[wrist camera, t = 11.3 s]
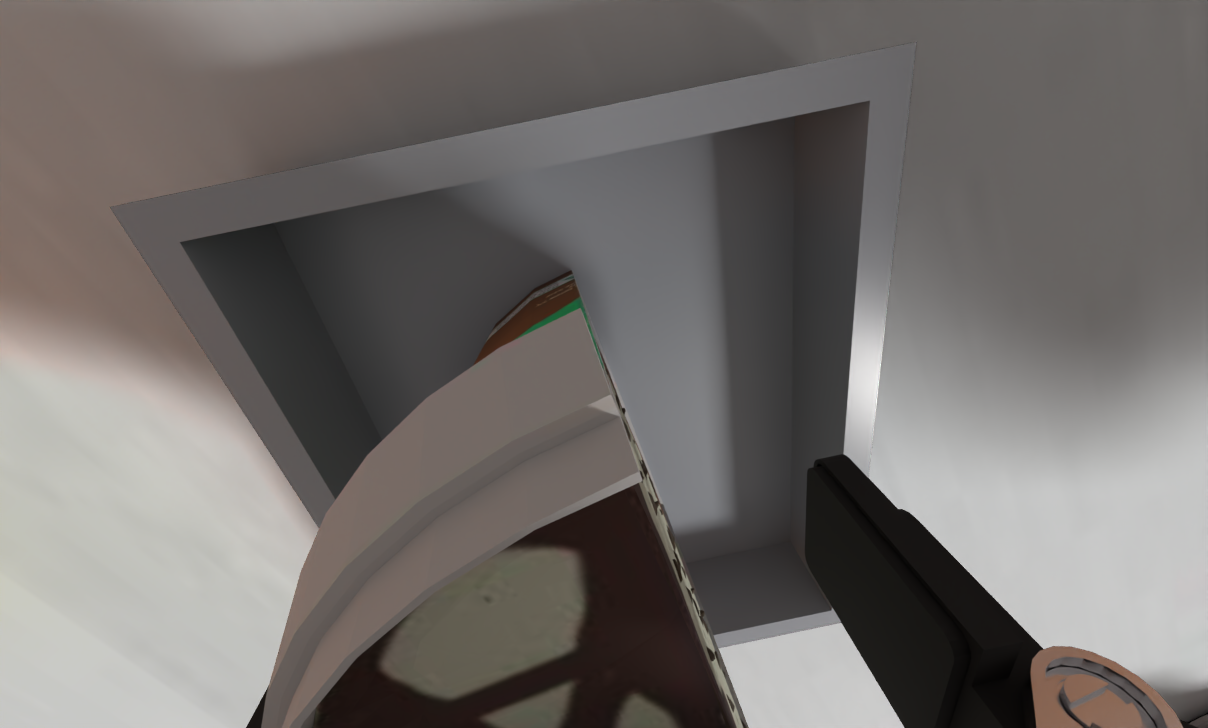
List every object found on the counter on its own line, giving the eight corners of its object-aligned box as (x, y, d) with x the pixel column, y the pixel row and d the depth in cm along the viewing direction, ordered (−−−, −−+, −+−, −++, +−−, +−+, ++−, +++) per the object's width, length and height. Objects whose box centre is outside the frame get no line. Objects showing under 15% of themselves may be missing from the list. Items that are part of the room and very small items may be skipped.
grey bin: (806, 74, 12) (916, 41, 8) (797, 532, 19) (852, 620, 16) (247, 189, 12) (109, 207, 8) (458, 603, 19) (435, 707, 16)
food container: (335, 301, 12) (-300, 760, 3) (551, 217, 12) (613, 408, 3) (525, 586, 17) (517, 1056, 8) (674, 530, 17) (831, 942, 8)
